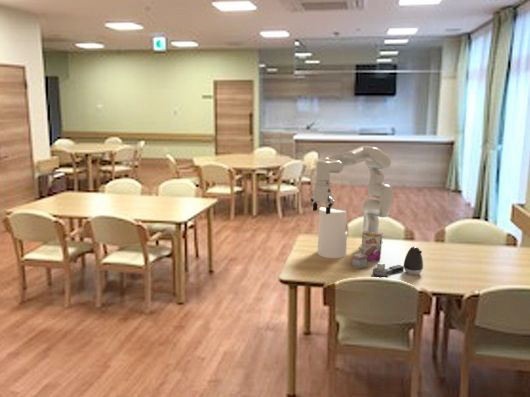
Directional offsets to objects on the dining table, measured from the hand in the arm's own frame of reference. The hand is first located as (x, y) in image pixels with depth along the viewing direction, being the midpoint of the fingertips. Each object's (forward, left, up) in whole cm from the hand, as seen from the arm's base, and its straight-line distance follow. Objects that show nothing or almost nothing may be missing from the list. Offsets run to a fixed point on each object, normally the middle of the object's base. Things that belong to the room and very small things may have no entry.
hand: (321, 212), depth 286 cm
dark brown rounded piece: (-31, +42, -30) cm, 60 cm away
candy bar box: (-28, +13, -30) cm, 43 cm away
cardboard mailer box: (-13, +19, -29) cm, 38 cm away
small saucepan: (-20, +35, -29) cm, 50 cm away
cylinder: (-15, -7, -30) cm, 34 cm away
